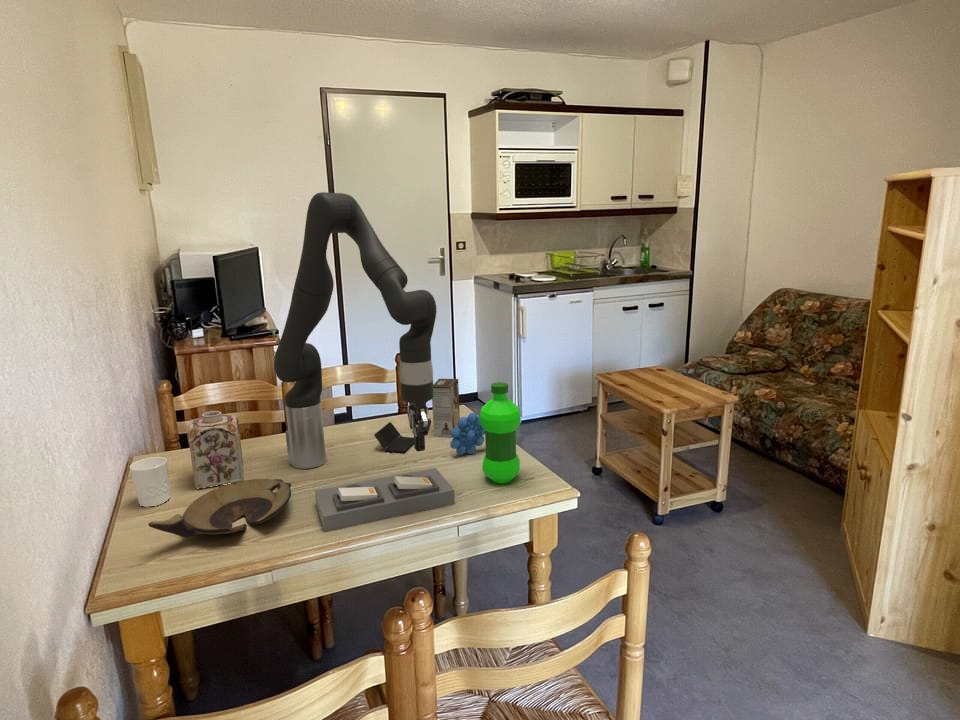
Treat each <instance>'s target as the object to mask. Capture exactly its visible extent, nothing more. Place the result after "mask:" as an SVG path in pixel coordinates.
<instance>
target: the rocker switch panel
mask: <svg viewBox="0 0 960 720" xmlns="http://www.w3.org/2000/svg"><path fill="white" fill-rule="evenodd" d="M395 476H400V477H424V478H428V479H429V481H430V482H431V483H432V485H433V486H432V487H429V488H424V489H399V488H398V487H397V485H396V483H395V482H394V479H395ZM354 487H374V489H375V491H376V493H377V494H378V496H377V498H373V499H368V500H357V501H341V499H340V496H339V494H338V489H339V488H354ZM455 495H456V494H455V489H454V488H453V486H452V485H451V484H450V483H449V482H448V481H447V480H446V478H445V477H444V475H443V474H442V473H441V472H440V470H439V469H438V468H437V467H433V468H427V469H422V470H421V469H420V470H417V471H411V472H405V473H400V474H396V475H395V474H394V475H390V476H385V477H380V478H379V477H378V478H375V479H368V480H363V481H359V482H353V483H352V482H351V483H348V484H341V485H337V486H331V487H326V488H321V489H316V490H314V497H315V498H314V499H315V505H316V509H317V512H318V516H319V518H320V522H321V525H322V528H323V531H324V532H329V531H334V530H338V529H342V528H349V527H352V526H357V525H361V524H367V523H372V522H375V521H376V522H377V521H380V520H386V519H389V518H390V519H391V518H396V517H398V516H404V515H408V514H409V515H410V514H414V513H417V512H423V511H427V510H433V509H438V508H441V507H442V508H443V507H447V506H452V505H455V504H456V499H455Z"/></svg>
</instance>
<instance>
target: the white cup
mask: <svg viewBox="0 0 960 720" xmlns="http://www.w3.org/2000/svg"><path fill="white" fill-rule="evenodd" d="M129 470H130V474H131V479H132V483H133V487H134V490H135V494H136V497H137V501H138V504H140V505H139V506H140V507H141V506H154V505H158V504H161V503H164V502H165V501H167V500H168V499H169V498H170V499H171V491H170V477H169V467H168V459H167V458H166V457H164V456H152V457H146V458H143V459H139V460H137V461H134V462H133V463H131V464H130V465H129ZM170 499H169V500H170ZM167 502H168V501H167ZM164 504H165V503H164Z"/></svg>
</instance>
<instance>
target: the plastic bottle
mask: <svg viewBox="0 0 960 720" xmlns="http://www.w3.org/2000/svg"><path fill="white" fill-rule="evenodd" d="M490 388H491V389H490V391H491V392H490V393H492V394H493V397H492V398H491V399H490V400H488V401H487V402H486V403H485V404H484V405H483V406H482V407H481V409H480V412H479V416H480V424H481V427H482V428H483V429H484V430H485V435H484V436H485V437H484V442H485V454H484V457H483V459H482V467H481V468H482V472H483V474H484V475H485V476H486V477H487V478H488V479H490V480H491V481H492V482H493V483H495V484H508V483H509V482H511V481H512V480H513V479H514V478H516V477H517V476H518V474H519V473H520V471H521V465H520V464H521V460H520V458H519V456H518V454H517V432H516V431H517V429H518V428H519V427H520V426H521V421H522V420H521V419H522V417H521V413H522V412H521V409H520V407H519V406H518V405H517V404H516V403H514V402H513V401H512V400H511V399H510V398H508V397H507V393H508V392H509V383H507V382H503V381H502V382H501V381H499V382H493V383H491V384H490Z"/></svg>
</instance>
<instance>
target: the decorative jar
mask: <svg viewBox="0 0 960 720" xmlns="http://www.w3.org/2000/svg"><path fill="white" fill-rule="evenodd" d="M187 426H188V441H187V442H188V443H189V451H190V459H191V466H192V467H191V468H192V473H193V478H194V479H193V480H194V484H195V485H194V486H195V489H196V488H203V487H210V486H216V485H223V484H228V483H235V482H239V481H244V480H245V479H244V477H245V476H244V460H243V459H244V458H243V451H242V450H243V449H242V441H241V435H240V428H239V426H240V425H239V419H238V417H237V416H236V415H234V414H233V415H232V414H226V413H222V412H221V411H219V410H211V411H206V412H204V413H202V414H201V417H198V418H195V419H194V420H191V421H189V423H188V425H187ZM223 486H224V485H223Z"/></svg>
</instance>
